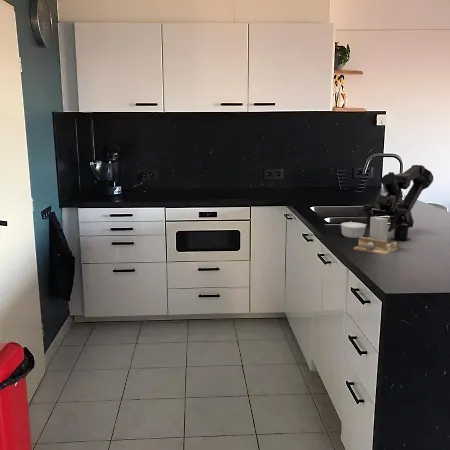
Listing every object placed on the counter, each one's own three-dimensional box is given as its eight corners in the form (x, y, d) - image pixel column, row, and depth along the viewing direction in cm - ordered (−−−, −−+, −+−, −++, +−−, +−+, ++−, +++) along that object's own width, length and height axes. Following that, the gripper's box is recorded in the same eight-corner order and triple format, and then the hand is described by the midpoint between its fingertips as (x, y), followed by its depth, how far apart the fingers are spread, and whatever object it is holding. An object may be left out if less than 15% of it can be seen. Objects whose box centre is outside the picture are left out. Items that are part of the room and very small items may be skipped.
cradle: (369, 243, 215) (370, 232, 214) (398, 248, 207) (399, 237, 206) (353, 249, 205) (354, 237, 204) (383, 255, 197) (384, 243, 196)
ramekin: (347, 239, 223) (348, 227, 222) (335, 233, 234) (336, 222, 233) (370, 237, 226) (371, 226, 225) (357, 232, 237) (358, 221, 235)
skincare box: (386, 247, 205) (389, 218, 202) (378, 248, 203) (380, 219, 201) (376, 244, 211) (378, 215, 208) (368, 245, 209) (370, 216, 206)
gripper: (365, 185, 211) (351, 215, 205) (409, 189, 199) (395, 221, 193) (372, 201, 218) (359, 230, 213) (415, 207, 206) (402, 237, 200)
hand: (377, 229), depth 205 cm, fingers open, 9 cm apart
